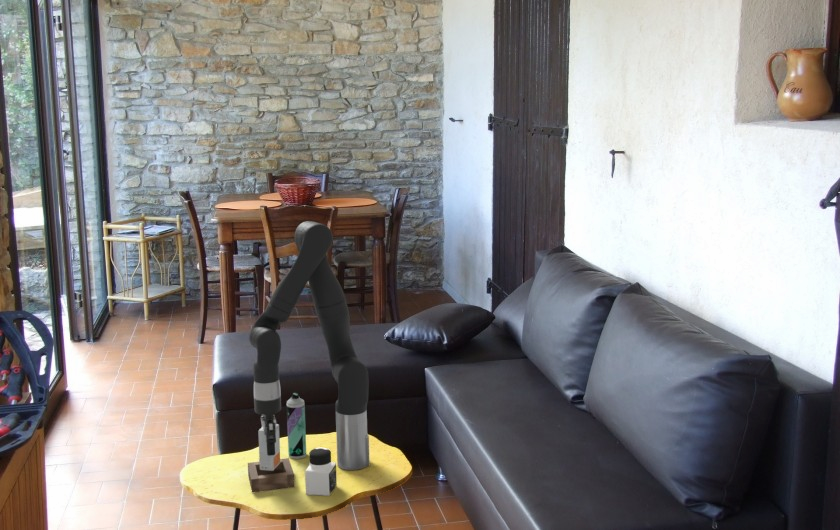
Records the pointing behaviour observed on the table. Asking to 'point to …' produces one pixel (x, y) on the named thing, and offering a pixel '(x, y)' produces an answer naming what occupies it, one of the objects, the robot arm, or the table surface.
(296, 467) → the table surface
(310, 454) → the medicine bottle
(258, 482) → the walnut well block
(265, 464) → the skincare box
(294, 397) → the spray can
